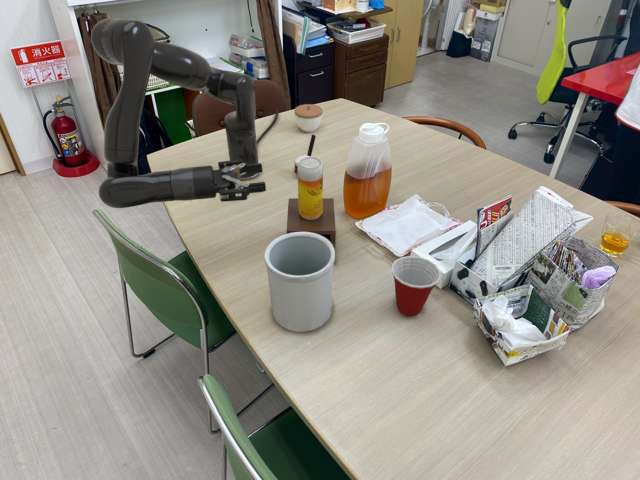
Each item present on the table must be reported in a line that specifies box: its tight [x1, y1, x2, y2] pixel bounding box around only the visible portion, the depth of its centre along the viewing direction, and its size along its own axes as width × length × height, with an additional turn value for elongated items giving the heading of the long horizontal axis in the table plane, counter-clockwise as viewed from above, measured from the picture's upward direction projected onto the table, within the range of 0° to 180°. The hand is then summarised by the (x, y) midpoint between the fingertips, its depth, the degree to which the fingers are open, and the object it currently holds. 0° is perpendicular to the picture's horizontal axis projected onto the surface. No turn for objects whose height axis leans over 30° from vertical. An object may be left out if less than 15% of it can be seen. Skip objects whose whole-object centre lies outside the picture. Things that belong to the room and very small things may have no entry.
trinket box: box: [293, 103, 324, 133], centre depth 176 cm, size 11×11×9 cm
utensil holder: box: [263, 232, 336, 333], centre depth 102 cm, size 15×15×18 cm
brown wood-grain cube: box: [286, 197, 337, 251], centre depth 121 cm, size 14×12×11 cm
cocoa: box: [294, 134, 317, 176], centre depth 150 cm, size 10×6×12 cm, turn 119°
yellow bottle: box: [297, 156, 324, 220], centre depth 113 cm, size 6×6×15 cm
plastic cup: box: [391, 255, 442, 317], centre depth 104 cm, size 11×11×12 cm
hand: (263, 176), depth 109 cm, fingers open, 8 cm apart
